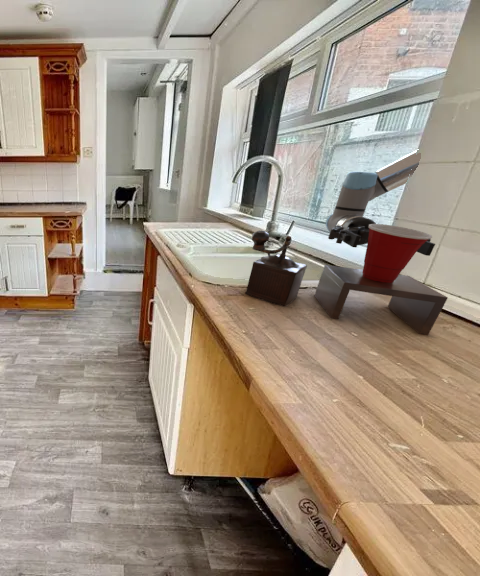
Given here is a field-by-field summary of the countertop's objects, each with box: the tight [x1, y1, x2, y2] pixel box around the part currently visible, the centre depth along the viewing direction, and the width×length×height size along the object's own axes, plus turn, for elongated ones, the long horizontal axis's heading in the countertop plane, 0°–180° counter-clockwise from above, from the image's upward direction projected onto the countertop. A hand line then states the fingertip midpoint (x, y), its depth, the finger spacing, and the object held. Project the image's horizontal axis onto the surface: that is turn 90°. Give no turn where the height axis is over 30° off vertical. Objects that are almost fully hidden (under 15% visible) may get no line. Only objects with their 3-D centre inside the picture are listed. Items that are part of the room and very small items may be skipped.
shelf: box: [314, 264, 449, 336], centre depth 74 cm, size 18×15×9 cm
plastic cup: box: [362, 223, 433, 283], centre depth 70 cm, size 11×11×12 cm
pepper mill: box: [244, 230, 308, 307], centre depth 78 cm, size 16×11×18 cm
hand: (392, 245), depth 70 cm, fingers open, 13 cm apart
